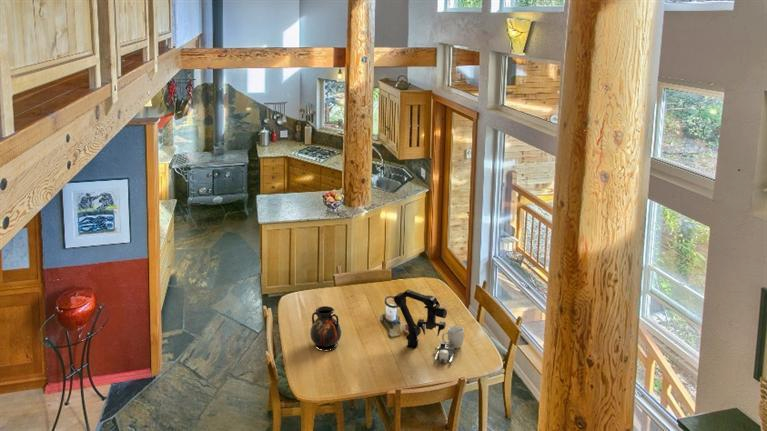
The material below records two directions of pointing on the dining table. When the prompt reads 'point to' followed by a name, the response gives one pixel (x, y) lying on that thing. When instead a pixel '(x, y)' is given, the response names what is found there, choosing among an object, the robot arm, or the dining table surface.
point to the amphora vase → (325, 329)
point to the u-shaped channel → (449, 348)
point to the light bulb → (443, 356)
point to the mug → (455, 336)
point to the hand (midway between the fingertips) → (431, 335)
